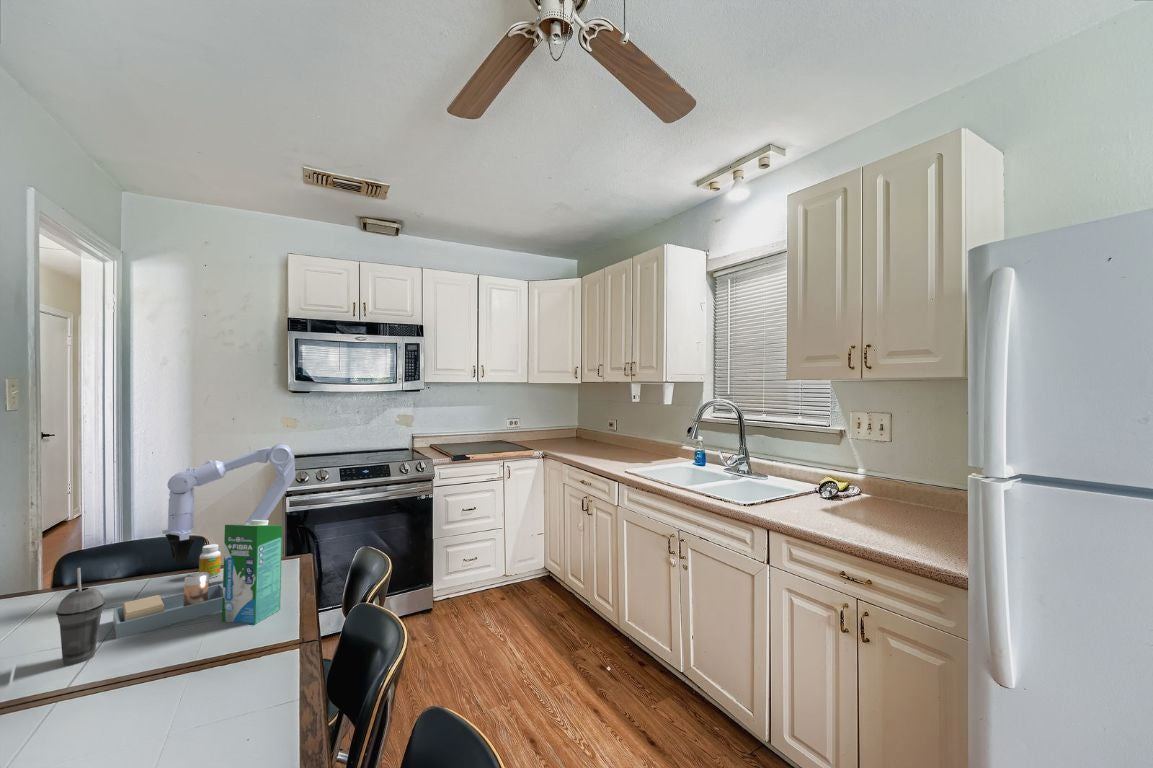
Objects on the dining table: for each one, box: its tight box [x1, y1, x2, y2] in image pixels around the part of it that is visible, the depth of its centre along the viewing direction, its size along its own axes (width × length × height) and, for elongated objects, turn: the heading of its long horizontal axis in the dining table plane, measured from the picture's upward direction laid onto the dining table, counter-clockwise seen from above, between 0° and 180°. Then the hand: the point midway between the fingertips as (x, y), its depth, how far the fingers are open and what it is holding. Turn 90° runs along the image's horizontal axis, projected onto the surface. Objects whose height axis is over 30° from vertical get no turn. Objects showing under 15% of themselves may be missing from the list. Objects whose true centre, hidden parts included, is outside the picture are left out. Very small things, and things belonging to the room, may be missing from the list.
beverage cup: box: [55, 567, 106, 666], centre depth 101 cm, size 7×7×20 cm
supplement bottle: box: [198, 543, 222, 579], centre depth 150 cm, size 5×5×10 cm
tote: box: [112, 583, 223, 640], centre depth 121 cm, size 22×12×4 cm, turn 137°
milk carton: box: [221, 519, 283, 626], centre depth 122 cm, size 9×9×25 cm
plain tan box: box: [122, 594, 164, 622], centre depth 117 cm, size 7×9×5 cm
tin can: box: [183, 571, 210, 607], centre depth 124 cm, size 5×5×9 cm
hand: (179, 560), depth 136 cm, fingers open, 7 cm apart
